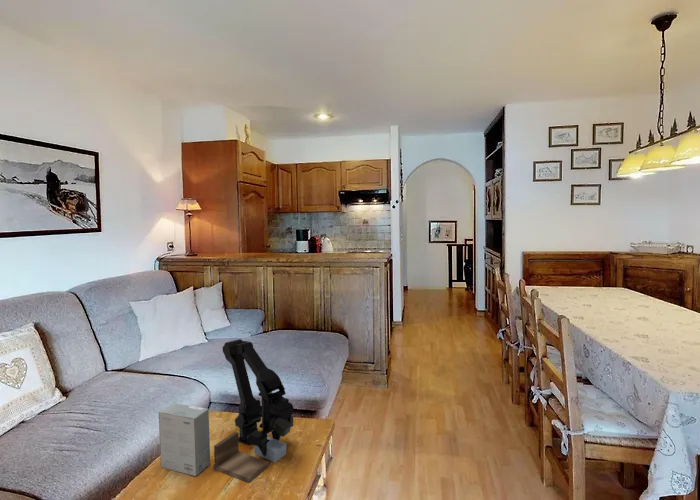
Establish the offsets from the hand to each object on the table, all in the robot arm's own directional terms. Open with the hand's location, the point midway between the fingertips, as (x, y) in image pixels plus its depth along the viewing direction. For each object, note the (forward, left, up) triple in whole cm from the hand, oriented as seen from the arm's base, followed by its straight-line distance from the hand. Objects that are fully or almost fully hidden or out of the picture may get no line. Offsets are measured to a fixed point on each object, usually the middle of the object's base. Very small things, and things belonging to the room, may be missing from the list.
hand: (270, 451), depth 142 cm
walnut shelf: (-4, -11, -1) cm, 12 cm away
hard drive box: (-22, -19, -1) cm, 29 cm away
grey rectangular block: (0, 0, -1) cm, 1 cm away
